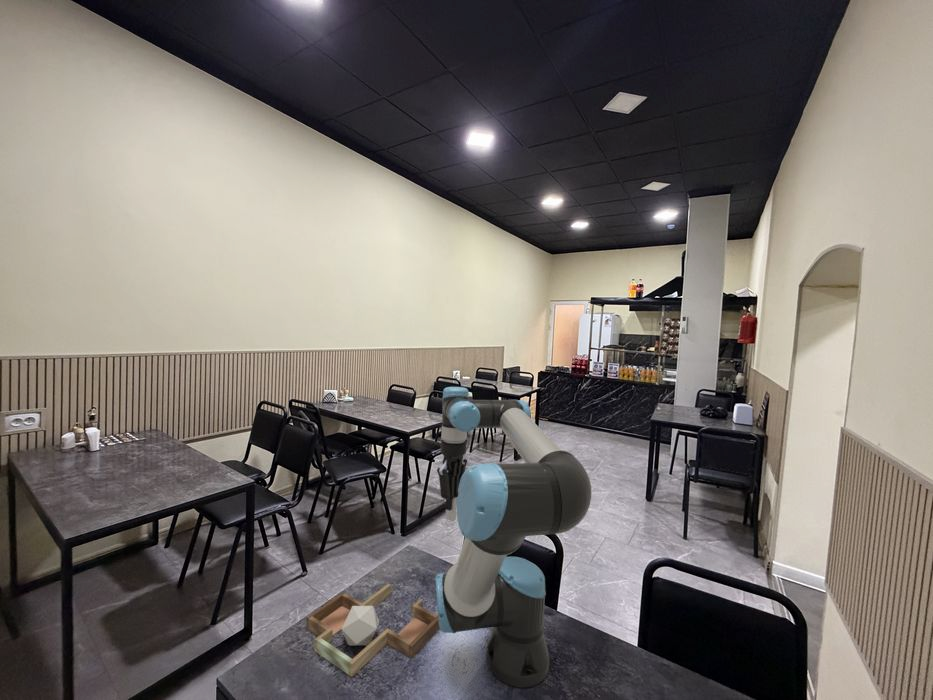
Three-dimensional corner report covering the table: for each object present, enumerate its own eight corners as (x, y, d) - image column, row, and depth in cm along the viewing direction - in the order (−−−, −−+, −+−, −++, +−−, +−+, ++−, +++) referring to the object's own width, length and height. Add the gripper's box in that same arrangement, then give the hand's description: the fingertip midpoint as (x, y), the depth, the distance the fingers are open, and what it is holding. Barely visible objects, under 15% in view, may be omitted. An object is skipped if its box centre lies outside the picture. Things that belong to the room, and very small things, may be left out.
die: (359, 664, 91) (385, 622, 94) (329, 641, 92) (355, 600, 96) (365, 649, 99) (389, 611, 103) (338, 628, 100) (361, 590, 104)
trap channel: (445, 622, 105) (446, 611, 105) (377, 695, 83) (378, 681, 83) (369, 583, 120) (369, 573, 120) (294, 636, 98) (294, 625, 98)
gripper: (455, 433, 120) (452, 508, 121) (430, 442, 109) (427, 524, 110) (476, 437, 116) (472, 514, 117) (452, 447, 105) (448, 532, 106)
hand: (450, 519), depth 113 cm, fingers closed
